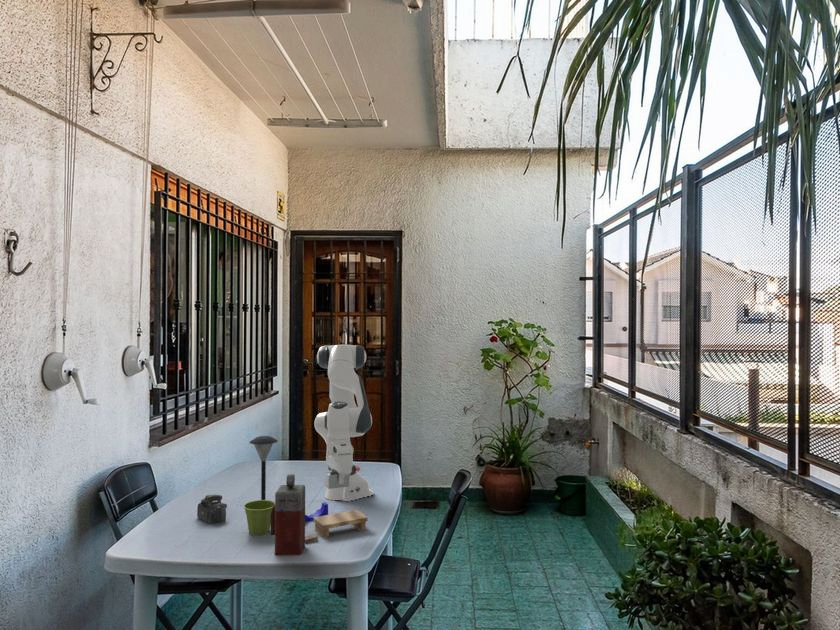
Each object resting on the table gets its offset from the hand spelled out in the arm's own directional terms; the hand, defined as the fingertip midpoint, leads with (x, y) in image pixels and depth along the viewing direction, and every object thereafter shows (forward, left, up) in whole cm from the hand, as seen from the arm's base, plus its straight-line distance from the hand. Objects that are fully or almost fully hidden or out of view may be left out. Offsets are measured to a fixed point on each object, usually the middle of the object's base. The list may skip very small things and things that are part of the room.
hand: (337, 481), depth 222 cm
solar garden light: (+16, -44, -20) cm, 51 cm away
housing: (0, 0, -2) cm, 2 cm away
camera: (+39, -39, -20) cm, 58 cm away
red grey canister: (+23, +11, -20) cm, 33 cm away
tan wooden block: (+13, +6, -20) cm, 24 cm away
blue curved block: (+3, -19, -20) cm, 28 cm away
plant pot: (+26, -13, -20) cm, 36 cm away
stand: (-1, +1, -20) cm, 20 cm away
